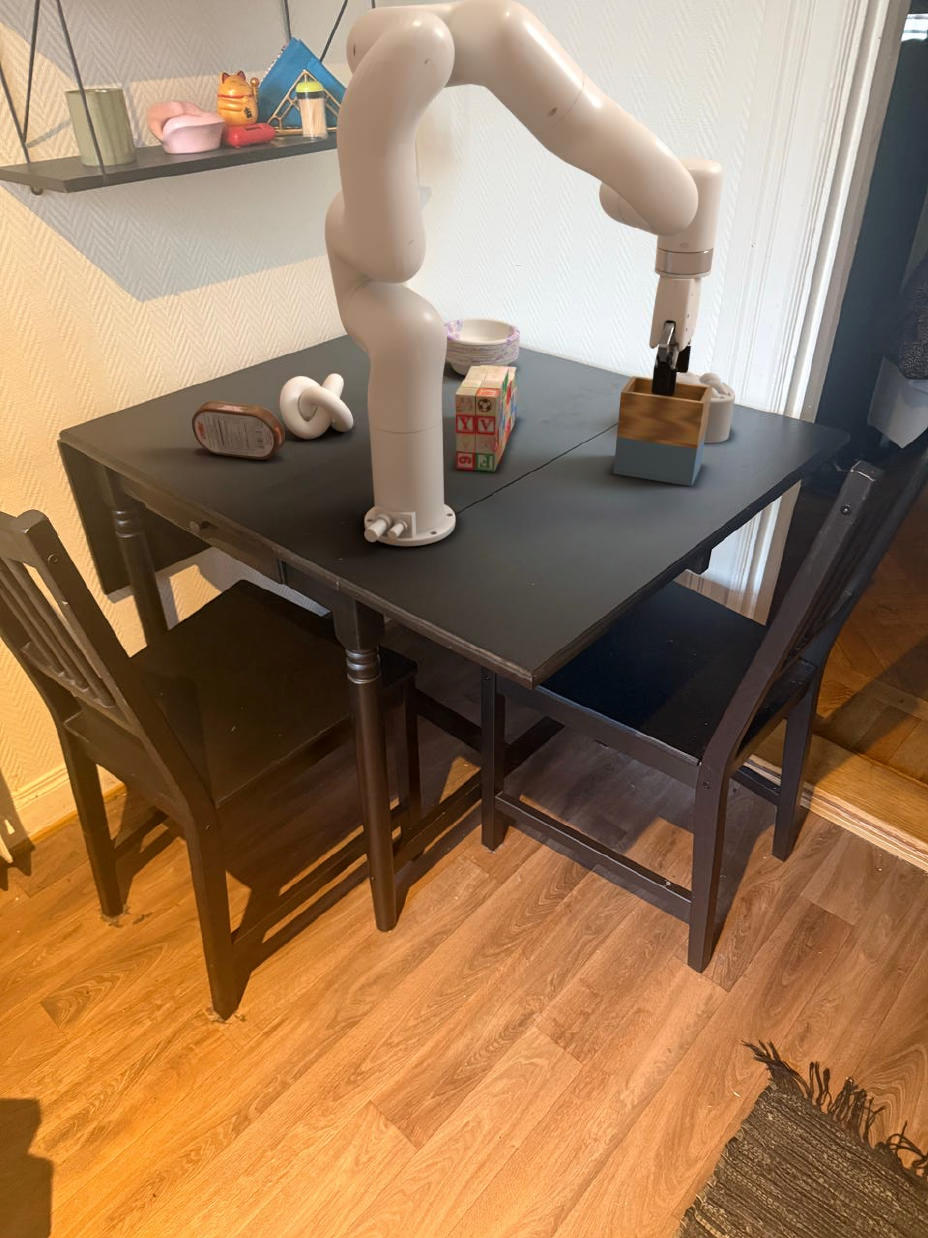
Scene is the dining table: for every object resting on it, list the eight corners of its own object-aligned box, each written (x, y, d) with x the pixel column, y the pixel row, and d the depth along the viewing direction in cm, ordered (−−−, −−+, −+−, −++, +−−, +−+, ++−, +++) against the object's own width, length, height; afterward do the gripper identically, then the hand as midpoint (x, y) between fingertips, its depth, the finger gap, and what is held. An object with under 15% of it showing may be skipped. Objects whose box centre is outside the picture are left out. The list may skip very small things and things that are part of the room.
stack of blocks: (481, 416, 161) (481, 346, 154) (516, 419, 160) (518, 348, 153) (455, 469, 143) (454, 392, 136) (495, 472, 142) (496, 395, 135)
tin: (288, 456, 148) (282, 406, 143) (280, 464, 145) (273, 413, 140) (203, 446, 151) (194, 396, 146) (193, 454, 149) (184, 404, 144)
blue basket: (700, 467, 144) (706, 430, 140) (691, 486, 138) (697, 449, 135) (624, 455, 147) (628, 419, 144) (613, 473, 142) (616, 436, 138)
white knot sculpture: (298, 414, 162) (292, 364, 157) (365, 418, 160) (361, 367, 155) (278, 440, 153) (271, 388, 148) (348, 444, 151) (344, 392, 146)
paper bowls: (528, 379, 176) (529, 337, 171) (450, 386, 173) (449, 344, 168) (506, 353, 188) (507, 314, 183) (433, 359, 185) (432, 319, 180)
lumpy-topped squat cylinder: (680, 410, 163) (686, 361, 158) (743, 431, 155) (752, 381, 150) (642, 425, 157) (647, 376, 152) (705, 449, 149) (713, 397, 144)
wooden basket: (706, 430, 140) (712, 386, 136) (697, 449, 135) (703, 403, 131) (628, 419, 144) (632, 375, 140) (616, 436, 138) (620, 391, 134)
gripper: (669, 243, 133) (657, 360, 143) (641, 274, 120) (630, 400, 130) (722, 247, 131) (706, 366, 140) (699, 279, 117) (683, 407, 127)
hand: (670, 382), depth 135 cm, fingers open, 9 cm apart
